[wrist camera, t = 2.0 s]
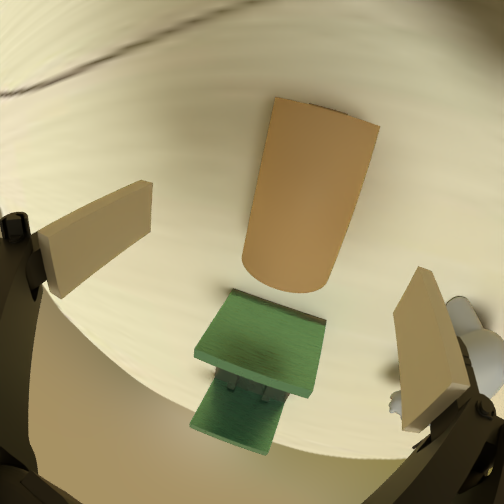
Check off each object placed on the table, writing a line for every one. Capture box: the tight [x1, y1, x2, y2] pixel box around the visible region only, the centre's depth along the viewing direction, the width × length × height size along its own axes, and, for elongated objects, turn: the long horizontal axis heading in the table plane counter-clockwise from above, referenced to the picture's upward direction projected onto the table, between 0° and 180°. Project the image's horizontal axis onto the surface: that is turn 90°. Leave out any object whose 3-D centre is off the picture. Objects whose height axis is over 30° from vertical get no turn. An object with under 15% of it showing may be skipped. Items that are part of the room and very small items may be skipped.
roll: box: [242, 97, 380, 293], centre depth 20 cm, size 12×7×7 cm, turn 169°
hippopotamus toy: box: [389, 297, 504, 426], centre depth 22 cm, size 11×15×10 cm
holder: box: [190, 289, 326, 455], centre depth 30 cm, size 16×10×9 cm, turn 169°
